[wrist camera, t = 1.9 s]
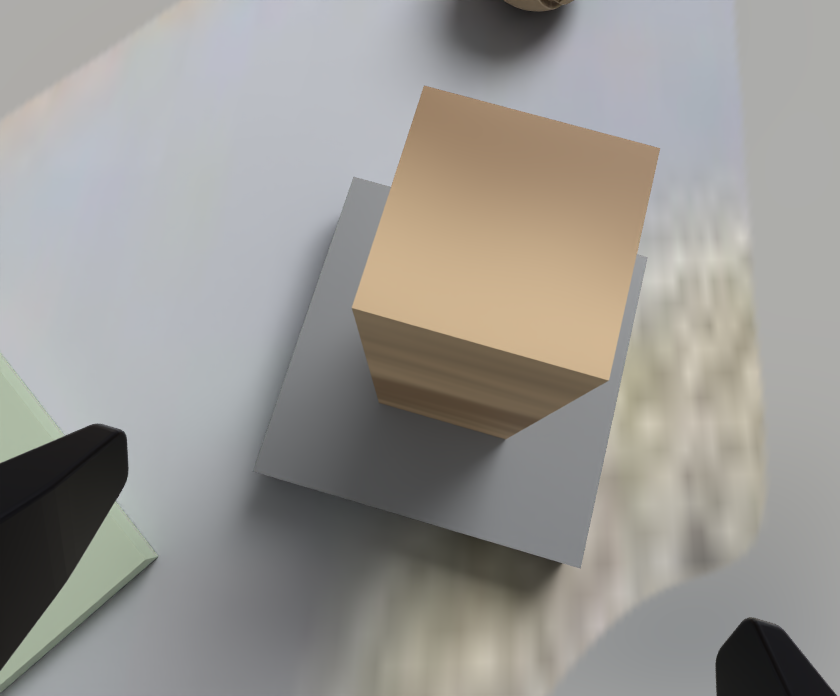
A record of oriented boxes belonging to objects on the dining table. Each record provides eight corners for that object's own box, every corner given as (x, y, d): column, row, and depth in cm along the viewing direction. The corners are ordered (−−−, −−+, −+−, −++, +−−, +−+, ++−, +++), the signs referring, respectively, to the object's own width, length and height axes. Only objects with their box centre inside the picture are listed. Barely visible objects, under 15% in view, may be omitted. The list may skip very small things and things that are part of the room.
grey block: (563, 561, 20) (580, 568, 18) (267, 473, 21) (252, 471, 19) (626, 277, 23) (647, 257, 21) (358, 203, 23) (353, 176, 21)
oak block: (505, 439, 19) (608, 380, 9) (379, 403, 19) (351, 307, 10) (536, 317, 20) (660, 148, 10) (415, 283, 20) (423, 85, 10)
